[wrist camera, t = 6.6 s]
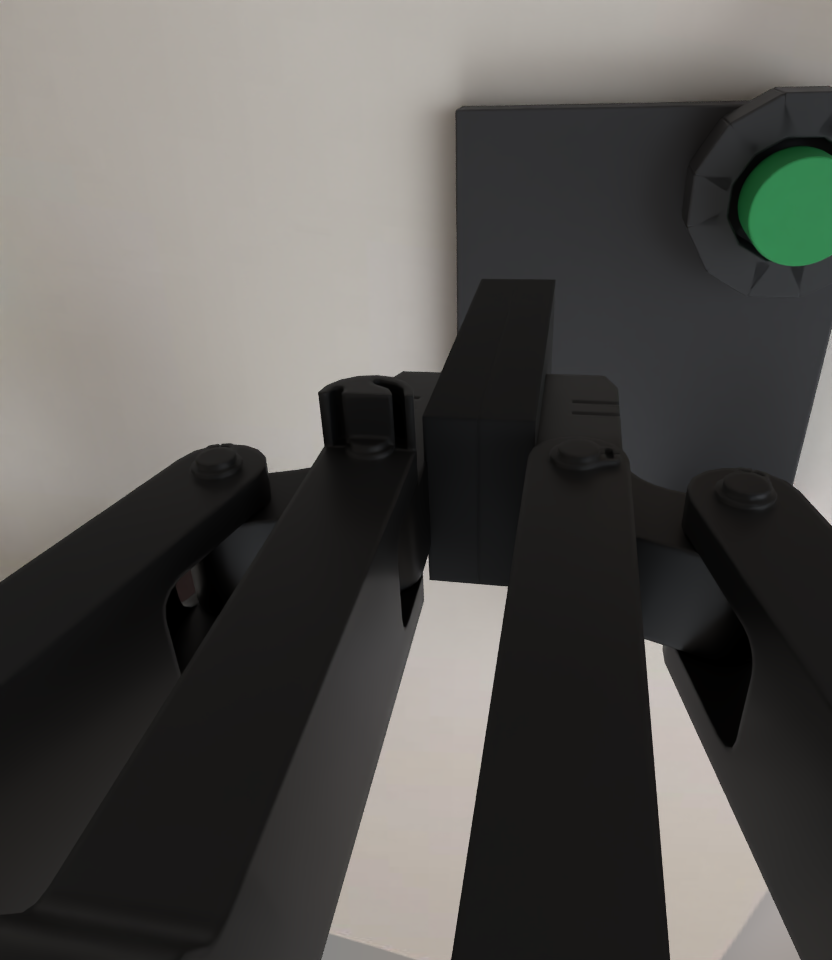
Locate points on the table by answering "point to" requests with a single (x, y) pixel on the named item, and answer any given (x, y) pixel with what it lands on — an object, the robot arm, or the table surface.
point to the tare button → (789, 206)
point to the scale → (656, 266)
